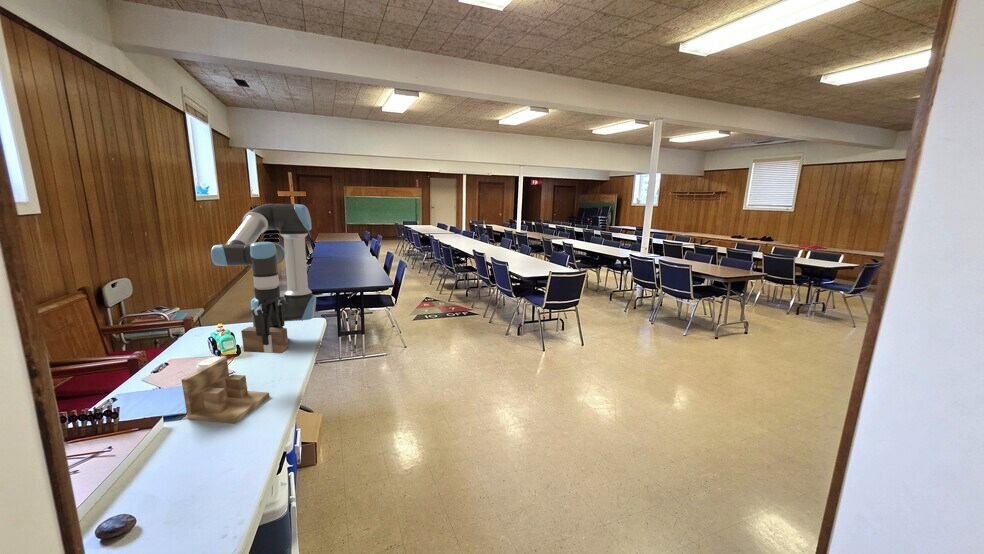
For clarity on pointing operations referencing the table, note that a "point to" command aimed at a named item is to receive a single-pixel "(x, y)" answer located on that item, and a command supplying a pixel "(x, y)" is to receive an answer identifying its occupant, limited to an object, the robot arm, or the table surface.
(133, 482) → the table surface
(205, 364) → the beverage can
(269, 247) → the robot arm
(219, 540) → the table surface
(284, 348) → the rail
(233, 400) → the wooden step bracket
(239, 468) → the table surface
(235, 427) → the table surface
